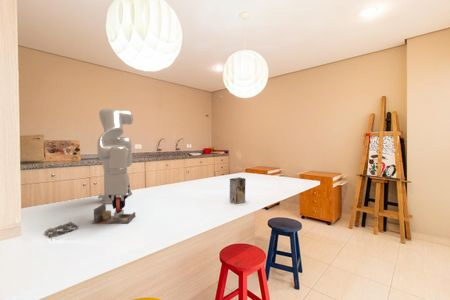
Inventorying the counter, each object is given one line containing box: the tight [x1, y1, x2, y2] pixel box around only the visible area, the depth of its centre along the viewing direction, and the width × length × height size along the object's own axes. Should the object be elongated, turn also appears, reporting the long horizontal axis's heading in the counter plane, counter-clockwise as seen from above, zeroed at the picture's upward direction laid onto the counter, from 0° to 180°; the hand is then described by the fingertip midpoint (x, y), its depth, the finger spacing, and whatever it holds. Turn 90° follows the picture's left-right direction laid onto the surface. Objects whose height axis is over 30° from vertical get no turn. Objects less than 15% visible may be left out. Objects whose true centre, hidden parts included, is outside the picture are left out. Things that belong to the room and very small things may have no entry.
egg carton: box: [44, 221, 80, 238], centre depth 92 cm, size 11×8×4 cm
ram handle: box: [113, 196, 125, 219], centre depth 106 cm, size 3×5×11 cm, turn 2°
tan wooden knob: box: [102, 209, 112, 221], centre depth 106 cm, size 4×4×4 cm
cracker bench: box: [91, 203, 137, 225], centre depth 106 cm, size 17×10×8 cm, turn 92°
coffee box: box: [229, 177, 246, 205], centre depth 144 cm, size 9×6×16 cm
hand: (118, 207), depth 106 cm, fingers closed on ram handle, 2 cm apart
